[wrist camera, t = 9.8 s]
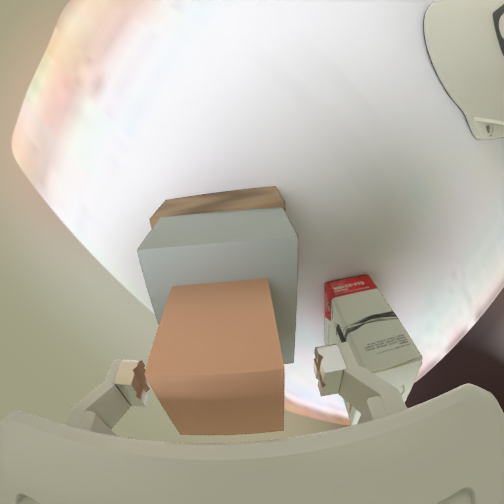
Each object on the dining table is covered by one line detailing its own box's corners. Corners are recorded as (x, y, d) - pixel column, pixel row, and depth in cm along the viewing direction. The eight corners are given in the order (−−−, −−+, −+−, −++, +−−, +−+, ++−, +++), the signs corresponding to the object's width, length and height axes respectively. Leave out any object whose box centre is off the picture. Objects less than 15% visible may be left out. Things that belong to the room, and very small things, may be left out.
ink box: (322, 281, 26) (366, 376, 15) (368, 272, 26) (427, 355, 15) (322, 343, 30) (351, 430, 19) (362, 333, 30) (400, 413, 19)
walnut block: (274, 185, 22) (284, 202, 18) (281, 288, 26) (290, 322, 22) (166, 199, 22) (149, 219, 18) (189, 298, 26) (181, 332, 22)
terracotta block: (267, 277, 14) (284, 368, 9) (271, 346, 16) (283, 430, 11) (172, 285, 14) (144, 374, 9) (191, 351, 16) (180, 434, 11)
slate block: (282, 206, 18) (297, 236, 13) (283, 316, 22) (293, 362, 17) (160, 217, 18) (136, 250, 13) (184, 323, 22) (174, 369, 17)
